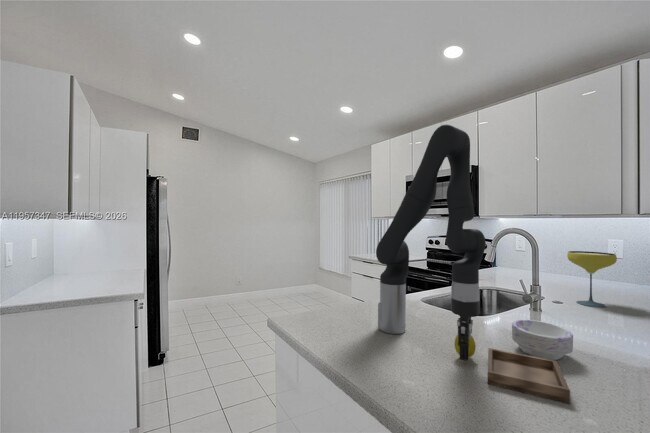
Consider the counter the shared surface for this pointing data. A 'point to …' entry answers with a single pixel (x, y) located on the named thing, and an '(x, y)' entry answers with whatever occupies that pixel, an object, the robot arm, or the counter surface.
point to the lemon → (470, 350)
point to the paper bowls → (542, 339)
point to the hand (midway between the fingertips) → (464, 355)
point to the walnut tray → (527, 375)
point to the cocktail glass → (591, 267)
